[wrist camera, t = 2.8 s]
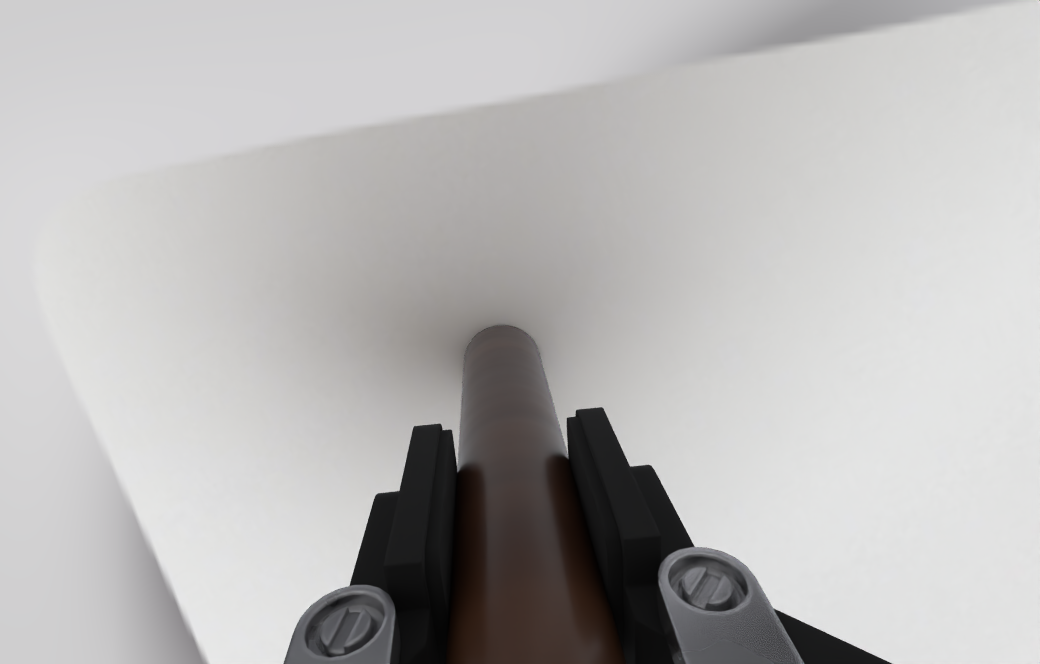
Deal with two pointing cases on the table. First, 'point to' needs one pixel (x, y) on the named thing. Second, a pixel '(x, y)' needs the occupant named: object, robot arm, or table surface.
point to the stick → (520, 523)
